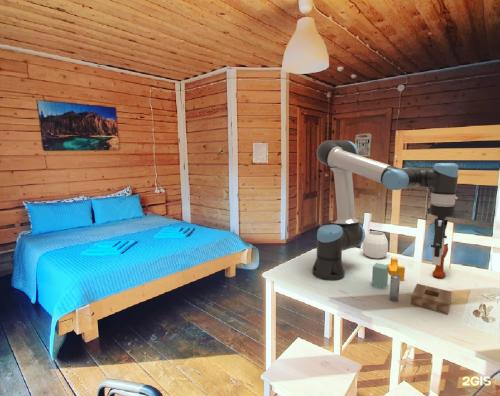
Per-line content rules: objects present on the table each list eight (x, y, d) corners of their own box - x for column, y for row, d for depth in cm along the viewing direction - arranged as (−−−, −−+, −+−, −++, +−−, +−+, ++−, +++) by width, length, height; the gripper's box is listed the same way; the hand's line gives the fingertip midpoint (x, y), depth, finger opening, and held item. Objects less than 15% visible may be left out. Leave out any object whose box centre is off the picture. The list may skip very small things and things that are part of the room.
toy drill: (450, 268, 146) (453, 239, 144) (443, 280, 133) (446, 248, 130) (439, 265, 149) (441, 237, 147) (430, 277, 136) (433, 246, 134)
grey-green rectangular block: (371, 285, 128) (372, 266, 127) (375, 281, 132) (376, 262, 131) (384, 289, 125) (385, 269, 124) (387, 284, 129) (388, 265, 128)
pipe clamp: (386, 270, 145) (387, 257, 144) (395, 270, 144) (396, 258, 143) (393, 280, 133) (394, 267, 132) (403, 281, 133) (404, 267, 132)
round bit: (388, 300, 116) (390, 276, 114) (390, 296, 118) (392, 273, 117) (397, 302, 114) (399, 278, 112) (399, 299, 116) (400, 275, 115)
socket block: (410, 304, 112) (411, 294, 112) (416, 292, 122) (416, 283, 121) (448, 314, 105) (449, 304, 104) (450, 301, 114) (451, 291, 114)
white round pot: (386, 253, 168) (387, 231, 165) (388, 261, 155) (390, 237, 153) (362, 251, 172) (363, 229, 170) (362, 258, 160) (363, 235, 158)
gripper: (453, 211, 96) (447, 272, 99) (456, 201, 116) (451, 251, 119) (427, 209, 101) (422, 267, 104) (434, 199, 120) (429, 248, 124)
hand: (437, 259), depth 112 cm, fingers open, 13 cm apart
